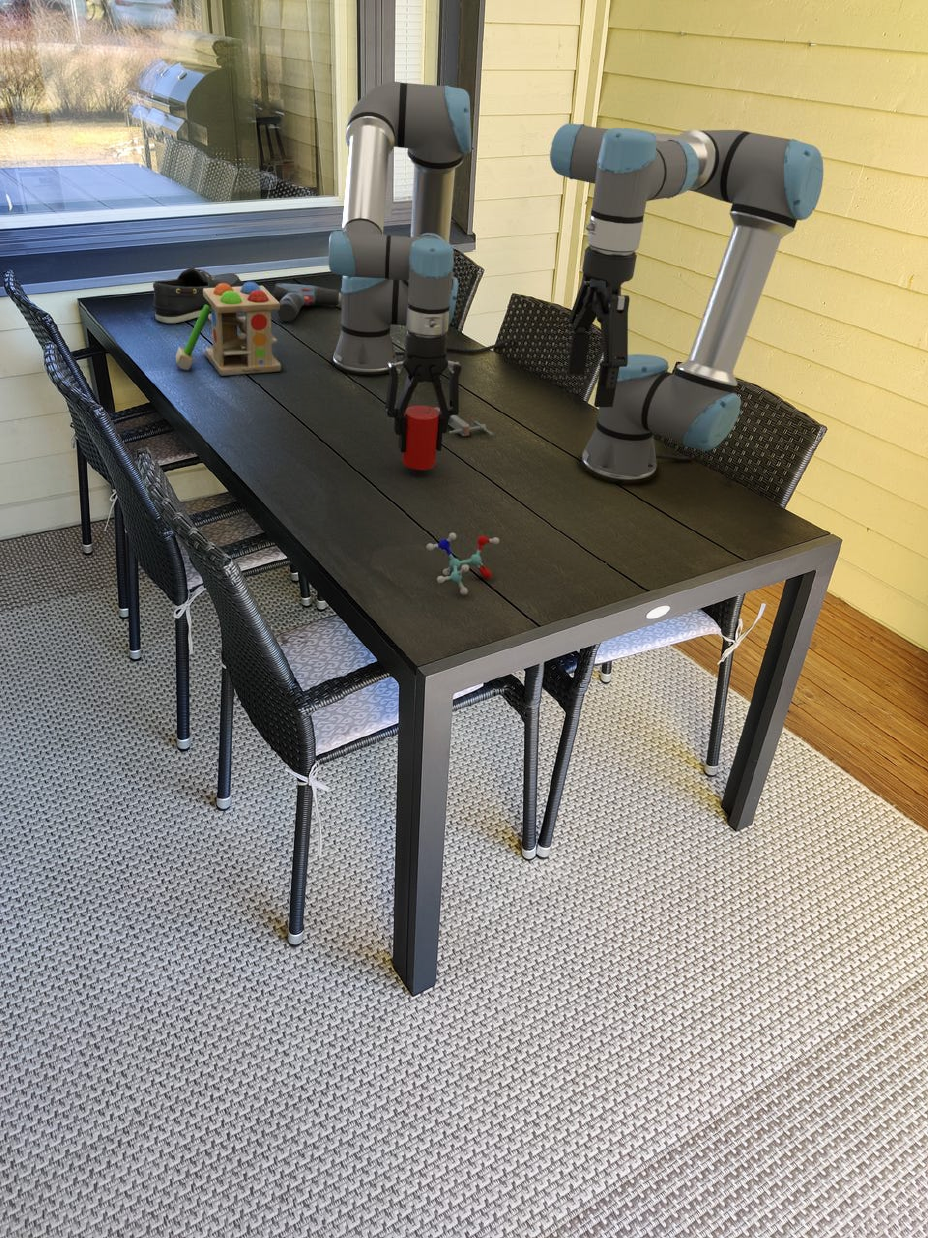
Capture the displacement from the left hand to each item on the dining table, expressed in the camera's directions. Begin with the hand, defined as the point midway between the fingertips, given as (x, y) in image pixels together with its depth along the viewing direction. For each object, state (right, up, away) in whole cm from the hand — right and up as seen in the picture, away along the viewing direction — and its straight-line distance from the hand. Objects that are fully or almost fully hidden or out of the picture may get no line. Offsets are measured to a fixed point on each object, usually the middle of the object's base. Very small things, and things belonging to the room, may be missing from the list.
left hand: (419, 448), depth 189 cm
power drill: (-34, +50, +78) cm, 99 cm away
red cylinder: (0, -2, +2) cm, 3 cm away
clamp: (+7, +8, +21) cm, 24 cm away
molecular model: (+8, -27, -29) cm, 40 cm away
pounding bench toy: (-47, +27, +41) cm, 68 cm away
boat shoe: (-62, +51, +74) cm, 109 cm away
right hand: (+28, +3, -36) cm, 46 cm away
